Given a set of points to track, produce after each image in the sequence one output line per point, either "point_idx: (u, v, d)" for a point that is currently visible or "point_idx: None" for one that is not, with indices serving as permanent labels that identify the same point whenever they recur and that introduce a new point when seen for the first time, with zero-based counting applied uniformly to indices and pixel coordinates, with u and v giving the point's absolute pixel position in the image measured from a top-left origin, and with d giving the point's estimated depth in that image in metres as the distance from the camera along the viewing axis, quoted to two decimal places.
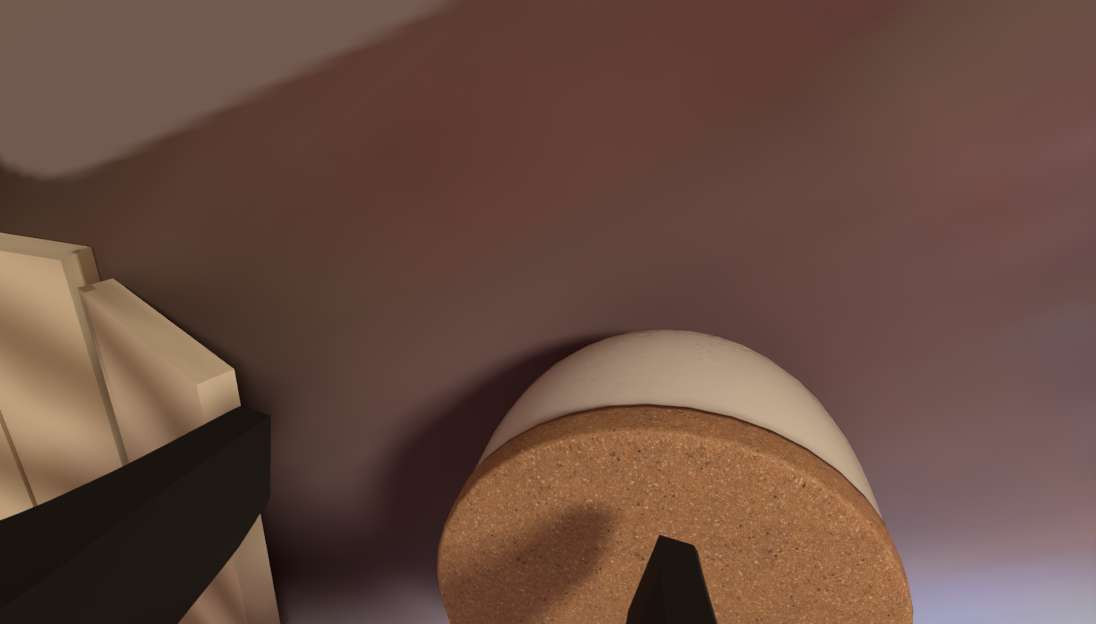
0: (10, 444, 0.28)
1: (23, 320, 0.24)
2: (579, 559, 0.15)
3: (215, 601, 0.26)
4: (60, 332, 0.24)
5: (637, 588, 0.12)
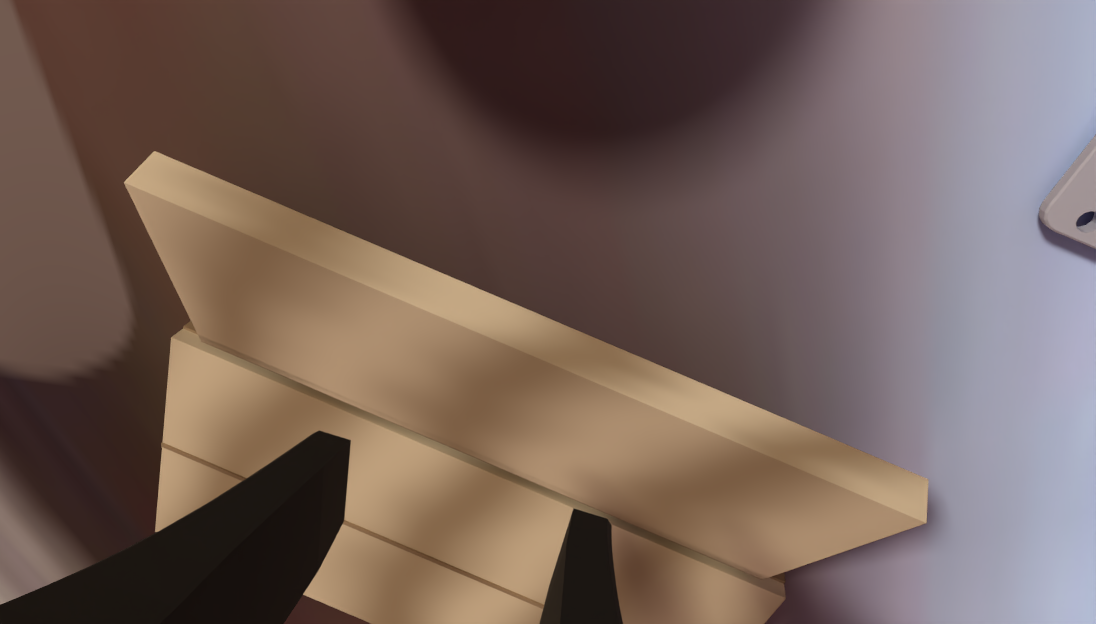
0: (388, 542, 0.25)
1: (239, 421, 0.24)
2: None
3: (545, 410, 0.18)
4: (250, 393, 0.23)
5: (556, 563, 0.12)
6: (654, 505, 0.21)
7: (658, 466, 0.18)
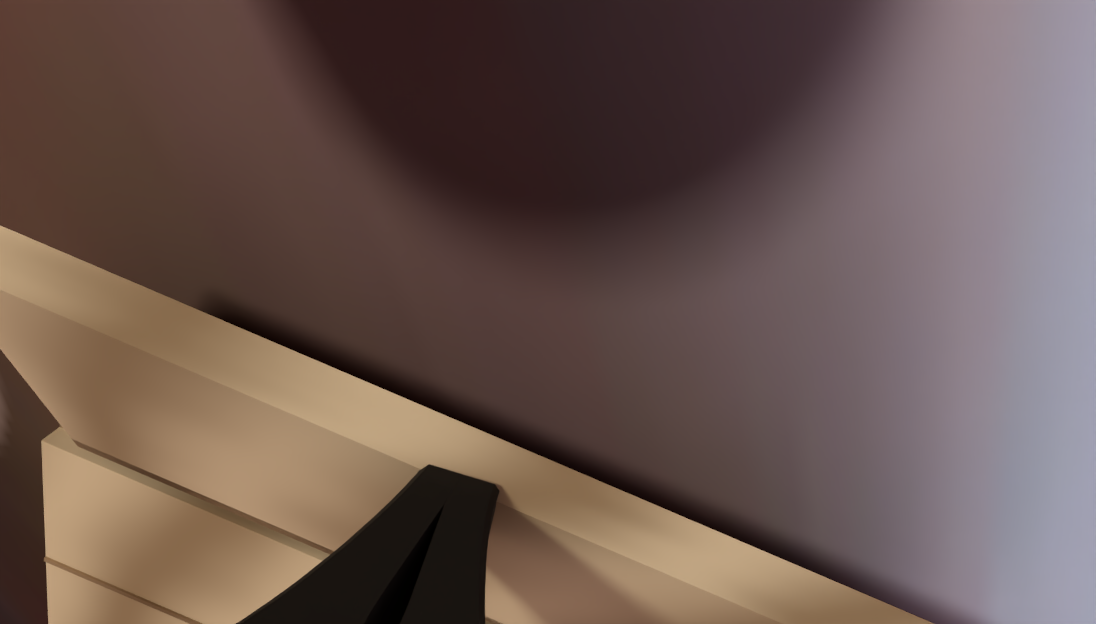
0: None
1: (132, 537, 0.19)
2: None
3: (498, 553, 0.14)
4: (141, 507, 0.19)
5: None
6: None
7: None
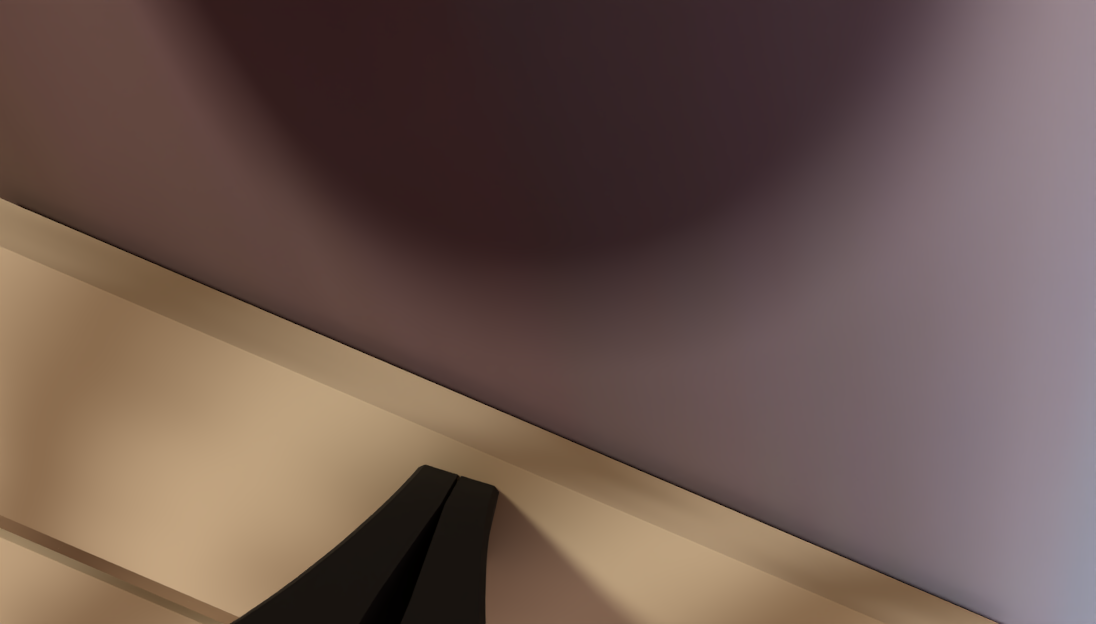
0: None
1: (48, 616, 0.17)
2: None
3: (496, 565, 0.13)
4: (55, 585, 0.16)
5: None
6: None
7: None
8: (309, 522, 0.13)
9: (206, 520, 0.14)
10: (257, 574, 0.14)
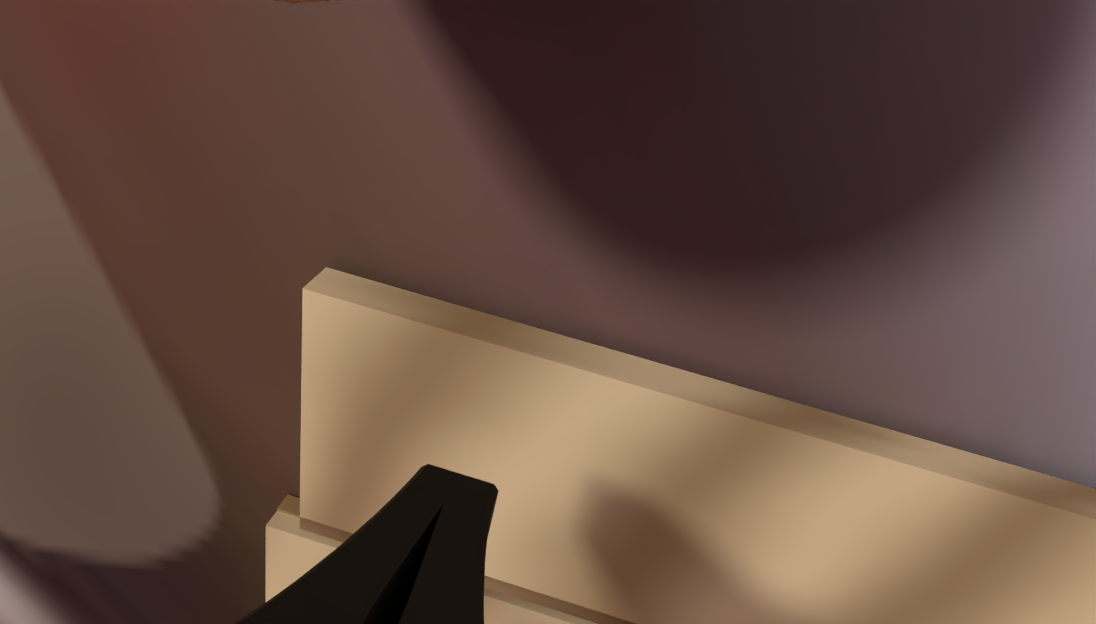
0: None
1: None
2: None
3: (749, 510, 0.16)
4: None
5: None
6: None
7: (885, 567, 0.16)
8: (589, 494, 0.17)
9: (500, 504, 0.17)
10: (539, 545, 0.18)
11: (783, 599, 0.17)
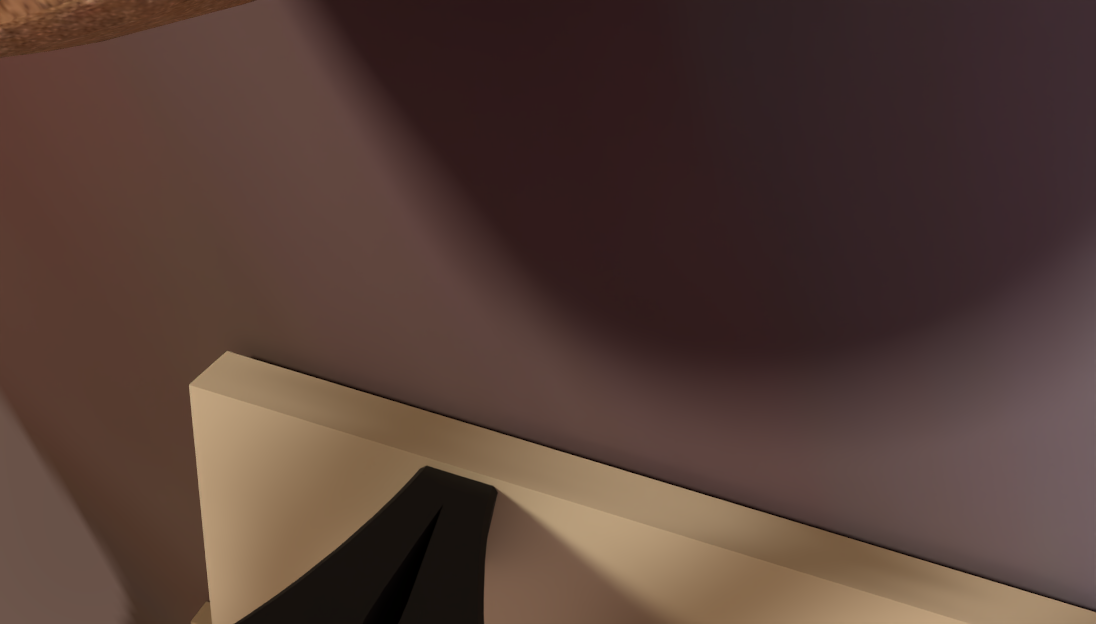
0: None
1: None
2: None
3: None
4: None
5: None
6: None
7: None
8: None
9: None
10: None
11: None
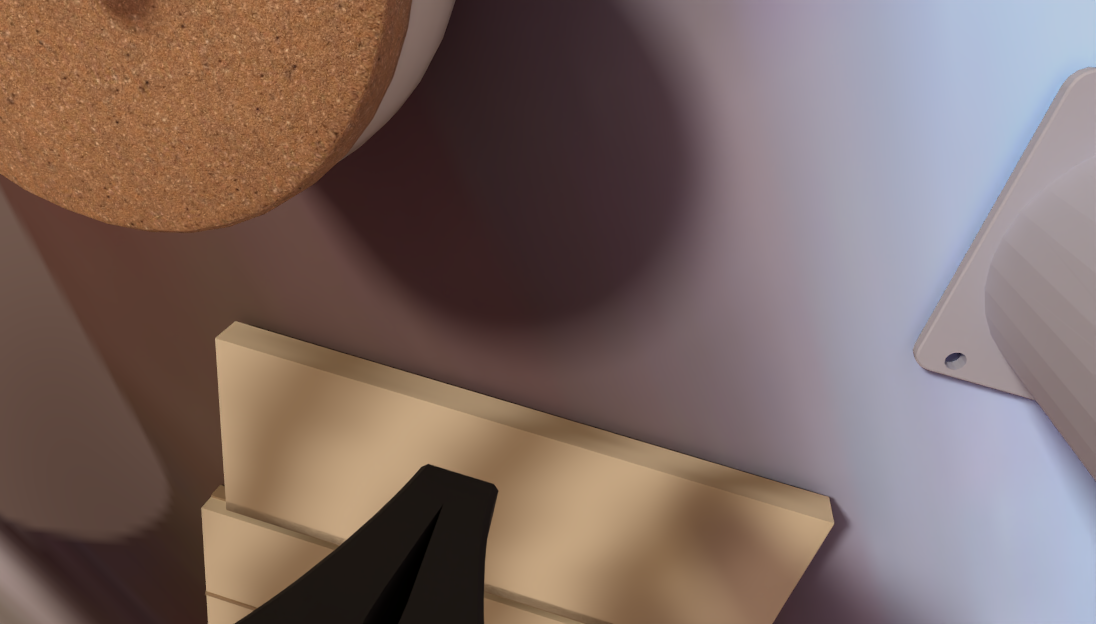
0: None
1: (267, 570, 0.27)
2: None
3: (532, 493, 0.23)
4: (273, 547, 0.27)
5: None
6: (632, 592, 0.24)
7: (628, 533, 0.23)
8: None
9: (366, 490, 0.24)
10: None
11: (567, 558, 0.24)
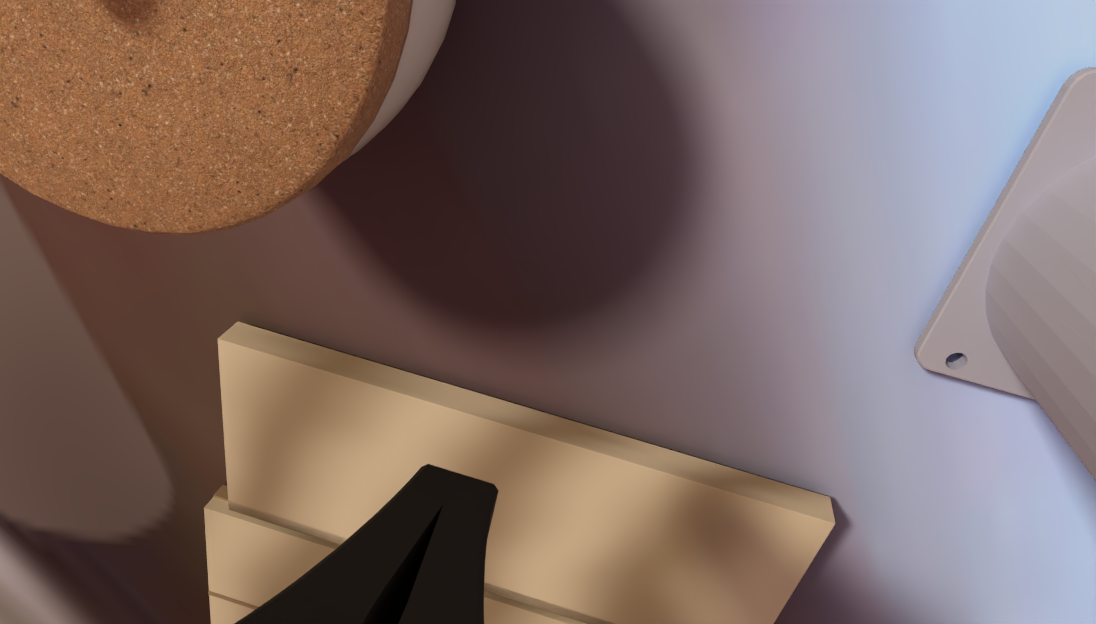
0: None
1: (270, 569, 0.27)
2: None
3: (533, 493, 0.23)
4: (275, 547, 0.27)
5: None
6: (634, 592, 0.24)
7: (629, 533, 0.23)
8: None
9: (367, 490, 0.24)
10: None
11: (568, 558, 0.24)
